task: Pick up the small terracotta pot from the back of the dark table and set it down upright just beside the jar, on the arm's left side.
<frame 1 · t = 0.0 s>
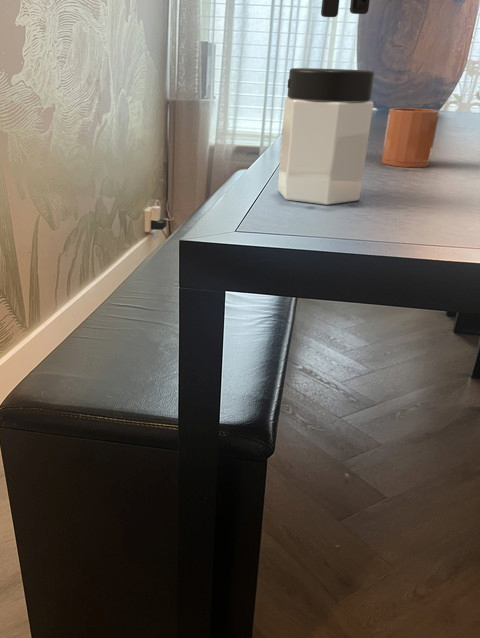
hand: (343, 15, 79), 18 cm above the table, tool pointing down, fingers open, 8 cm apart
jar: (317, 197, 64), on the table
pot: (404, 163, 86), on the table
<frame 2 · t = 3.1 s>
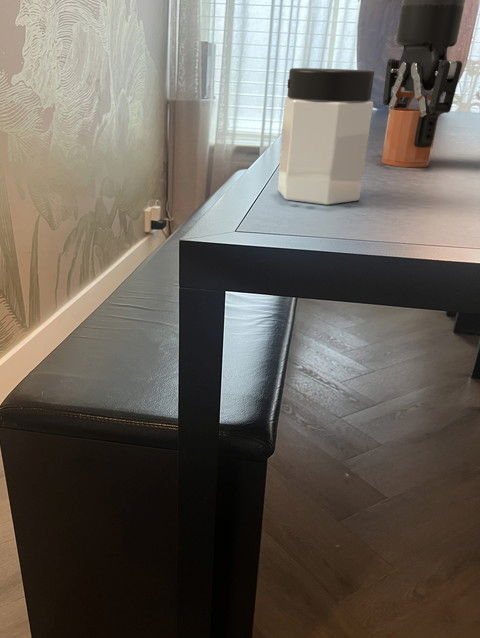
hand: (407, 143, 84), 3 cm above the table, tool pointing down, fingers closed on pot, 6 cm apart
pot: (404, 163, 86), on the table, touching gripper
everything else where it was.
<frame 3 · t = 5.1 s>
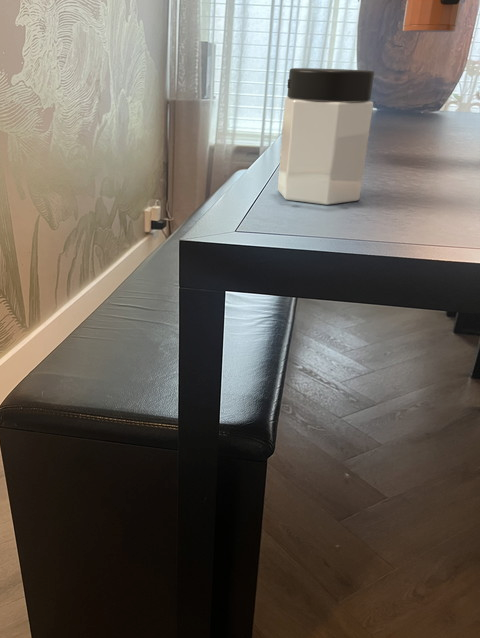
hand: (432, 5, 76), 19 cm above the table, tool pointing down, fingers closed on pot, 6 cm apart
pot: (428, 31, 77), point 16 cm above the table, touching gripper
everything else where it was.
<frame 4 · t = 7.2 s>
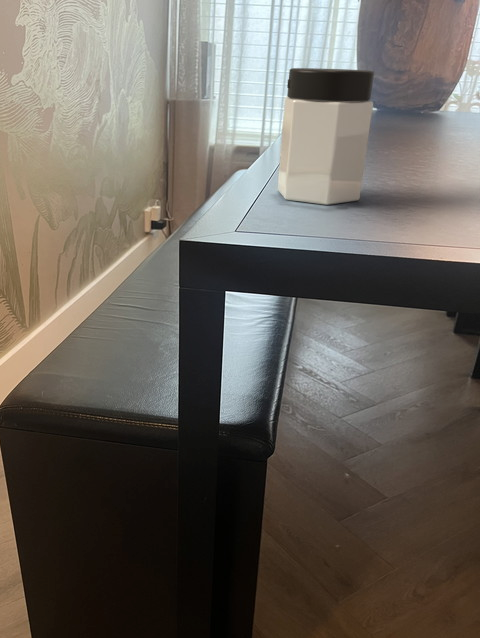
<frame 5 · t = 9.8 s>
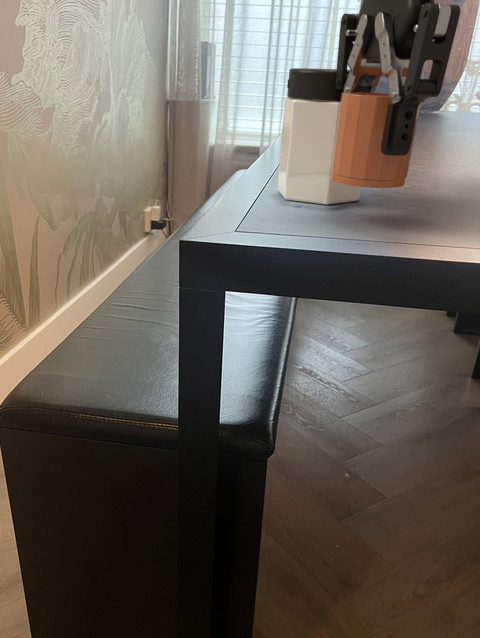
hand: (372, 148, 52), 6 cm above the table, tool pointing down, fingers closed on pot, 6 cm apart
jar: (316, 197, 64), on the table, touching hand
pot: (367, 181, 54), point 3 cm above the table, touching gripper
when the fingers open (3 cm above the table, at t = 11.5 s): pot stays where it is, on the table.
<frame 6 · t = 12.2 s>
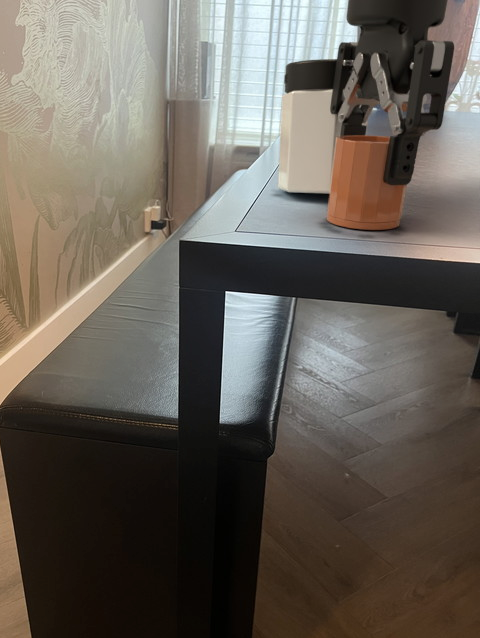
hand: (370, 175, 54), 4 cm above the table, tool pointing down, fingers open, 8 cm apart
jar: (318, 192, 64), on the table
pot: (362, 221, 55), on the table, touching gripper
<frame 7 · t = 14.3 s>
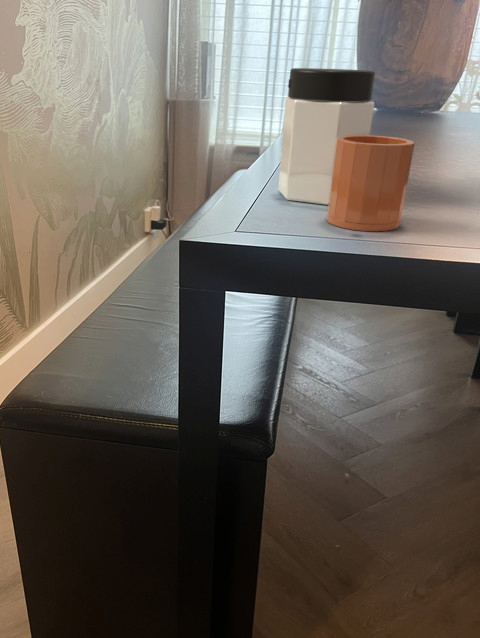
pot: (362, 222, 55), on the table
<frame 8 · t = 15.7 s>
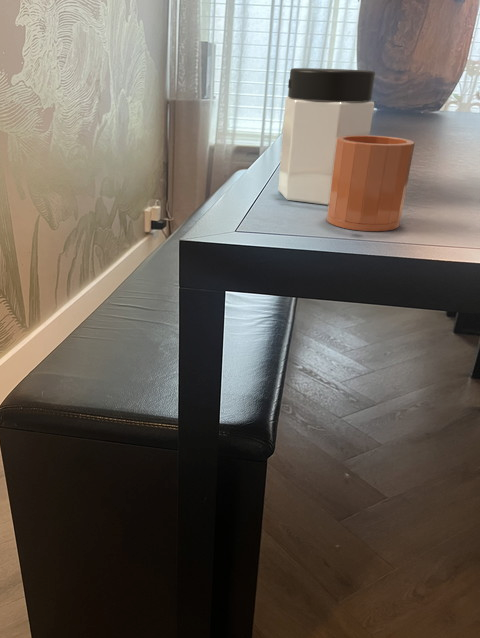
at the end: pot inside the target area on the table beside the jar (1.2 cm from its centre), on the table; pot tilted 0°; jar moved 0.2 cm from its start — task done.
